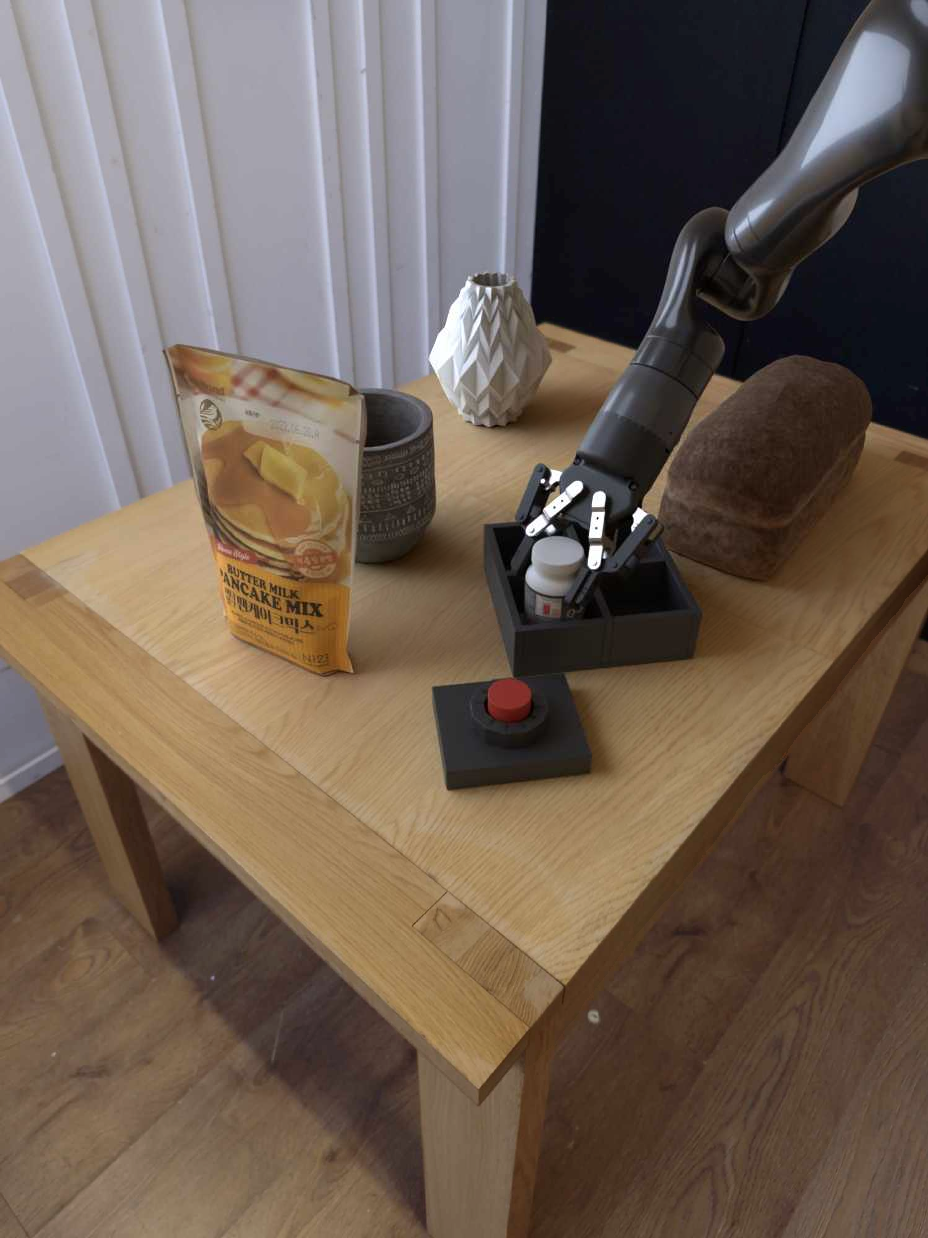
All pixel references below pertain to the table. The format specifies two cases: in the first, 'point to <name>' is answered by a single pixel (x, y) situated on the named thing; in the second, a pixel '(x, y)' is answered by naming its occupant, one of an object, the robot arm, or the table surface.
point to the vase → (490, 351)
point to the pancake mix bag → (276, 497)
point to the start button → (509, 701)
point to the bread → (765, 466)
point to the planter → (395, 475)
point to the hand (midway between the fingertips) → (543, 591)
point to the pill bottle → (552, 581)
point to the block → (509, 735)
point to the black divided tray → (594, 611)
